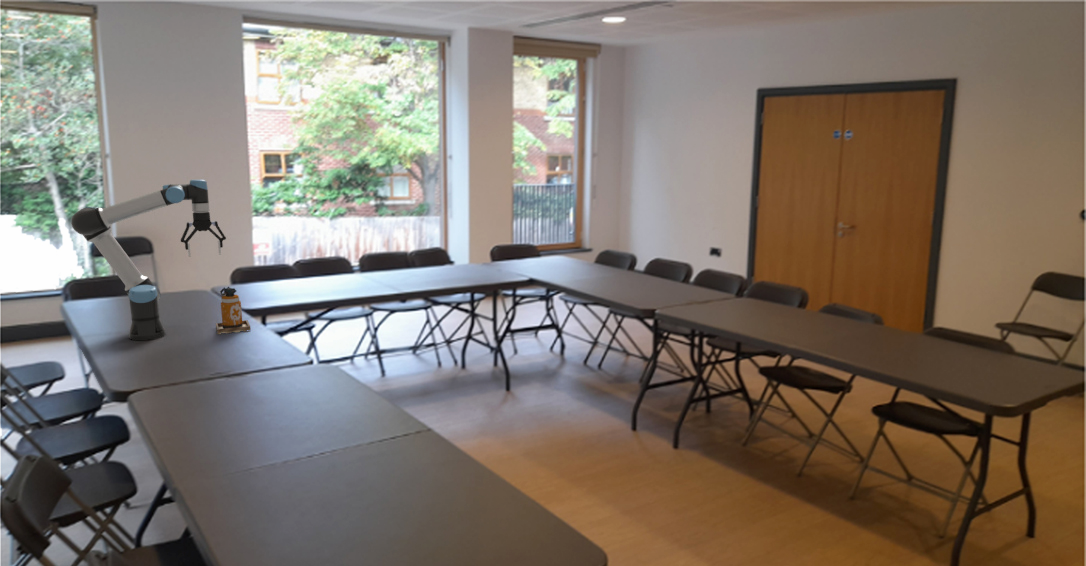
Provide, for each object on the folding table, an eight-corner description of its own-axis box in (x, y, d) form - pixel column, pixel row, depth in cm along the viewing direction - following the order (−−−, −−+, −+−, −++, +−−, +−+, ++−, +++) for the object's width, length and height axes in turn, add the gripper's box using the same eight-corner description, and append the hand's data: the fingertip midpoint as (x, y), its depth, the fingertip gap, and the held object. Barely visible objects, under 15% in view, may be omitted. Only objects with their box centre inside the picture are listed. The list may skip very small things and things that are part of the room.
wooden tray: (217, 334, 360) (217, 329, 360) (215, 327, 372) (215, 323, 372) (250, 330, 367) (250, 326, 366) (247, 324, 378) (247, 320, 378)
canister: (229, 331, 362) (226, 290, 358) (216, 328, 369) (213, 287, 365) (246, 327, 369) (243, 287, 365) (233, 324, 376) (230, 284, 372)
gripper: (228, 210, 378) (231, 252, 382) (172, 212, 367) (176, 256, 371) (229, 211, 371) (232, 254, 375) (172, 213, 360) (176, 258, 364)
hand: (204, 255), depth 373 cm, fingers open, 13 cm apart
